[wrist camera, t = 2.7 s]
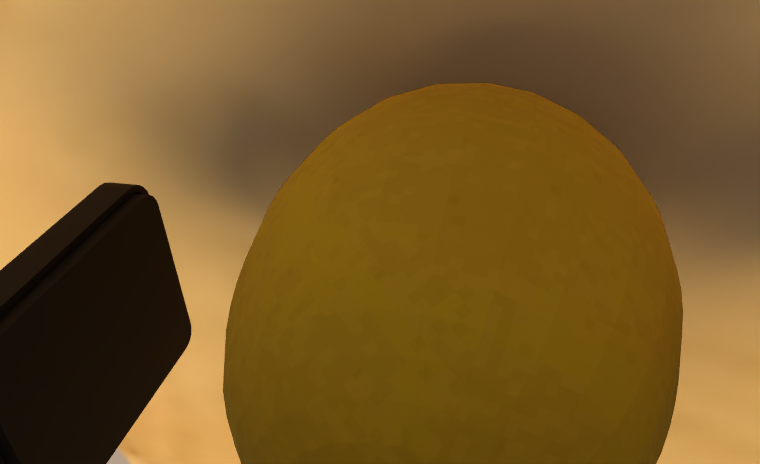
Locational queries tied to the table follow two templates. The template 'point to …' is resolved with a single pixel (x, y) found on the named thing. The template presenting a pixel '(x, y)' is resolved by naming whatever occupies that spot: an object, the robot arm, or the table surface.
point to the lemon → (457, 294)
